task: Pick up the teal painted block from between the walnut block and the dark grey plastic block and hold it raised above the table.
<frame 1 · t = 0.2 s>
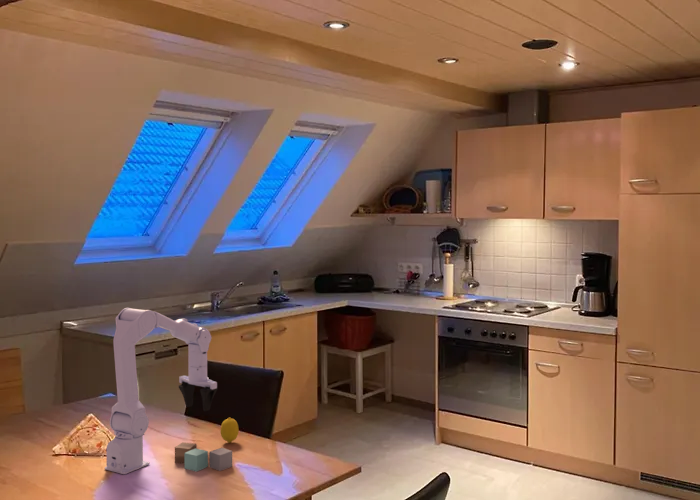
hand: (197, 408, 217), 10 cm above the table, tool pointing down, fingers open, 7 cm apart
walnut block: (185, 461, 199), on the table
teal block: (196, 467, 194), on the table
grey block: (220, 467, 195), on the table
lemon: (229, 443, 215), on the table
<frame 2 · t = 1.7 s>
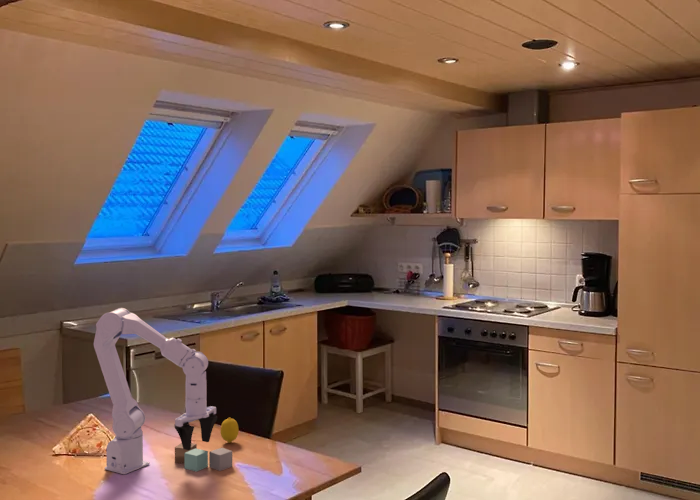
hand: (196, 445, 194), 6 cm above the table, tool pointing down, fingers open, 7 cm apart
nothing on the table moved.
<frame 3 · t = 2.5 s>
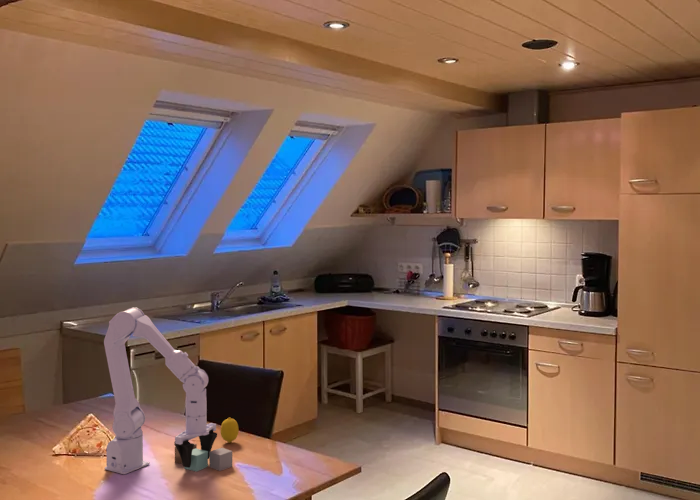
hand: (196, 462, 194), 1 cm above the table, tool pointing down, fingers open, 7 cm apart
nothing on the table moved.
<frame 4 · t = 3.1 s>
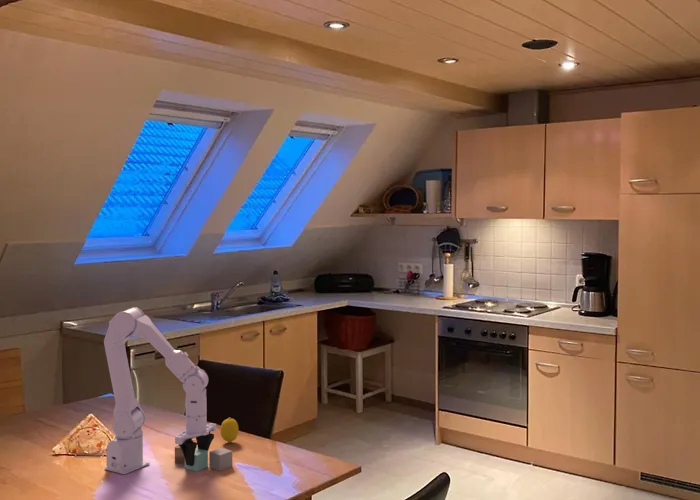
hand: (196, 462, 194), 1 cm above the table, tool pointing down, fingers closed on teal block, 4 cm apart
teal block: (196, 467, 194), on the table, touching gripper
everything else where it was.
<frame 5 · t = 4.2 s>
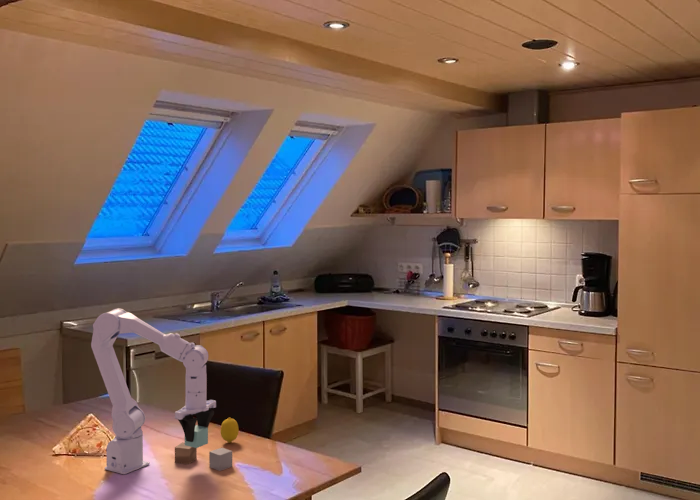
hand: (196, 438, 194), 8 cm above the table, tool pointing down, fingers closed on teal block, 4 cm apart
teal block: (196, 444, 194), point 7 cm above the table, touching gripper
everything else where it was.
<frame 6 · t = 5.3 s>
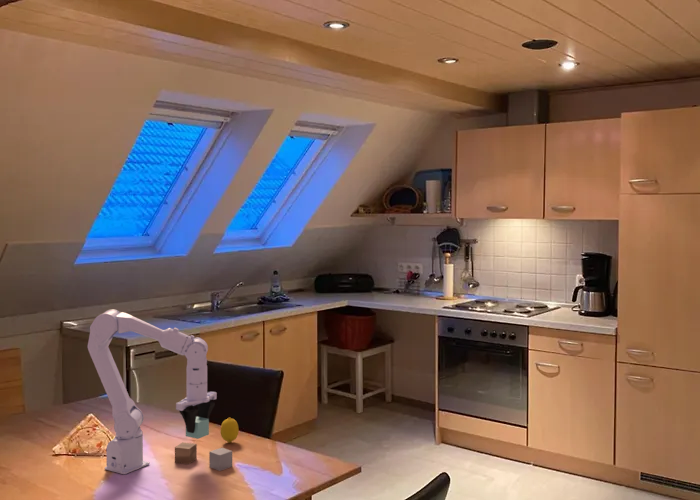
hand: (197, 429, 196), 10 cm above the table, tool pointing down, fingers closed on teal block, 4 cm apart
teal block: (197, 435, 196), point 8 cm above the table, touching gripper
everything else where it was.
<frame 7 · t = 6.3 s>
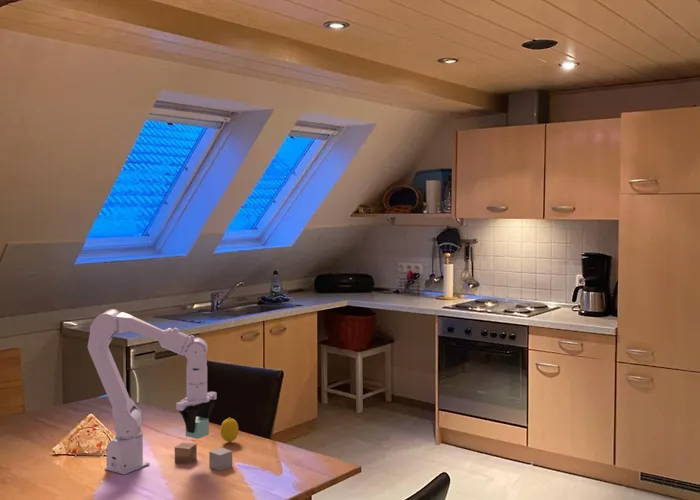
hand: (197, 429, 196), 10 cm above the table, tool pointing down, fingers closed on teal block, 4 cm apart
teal block: (197, 435, 196), point 8 cm above the table, touching gripper
everything else where it was.
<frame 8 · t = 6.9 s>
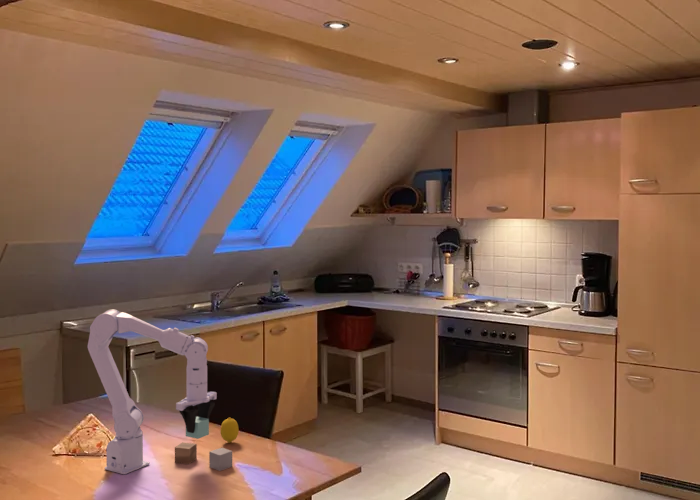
hand: (197, 429, 196), 10 cm above the table, tool pointing down, fingers closed on teal block, 4 cm apart
teal block: (197, 435, 196), point 8 cm above the table, touching gripper
everything else where it was.
at the end: the gripper is holding teal block; teal block point 8.3 cm above the table; walnut block moved 0.1 cm from its start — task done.
